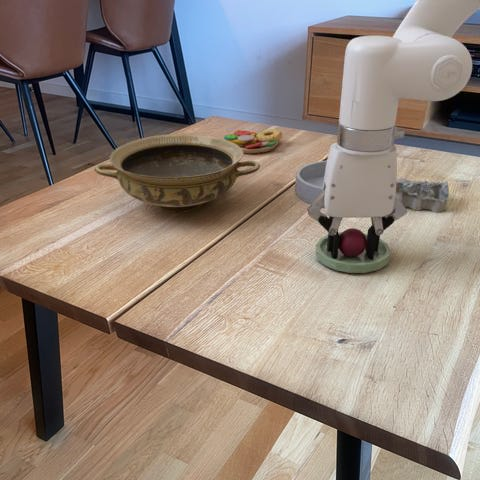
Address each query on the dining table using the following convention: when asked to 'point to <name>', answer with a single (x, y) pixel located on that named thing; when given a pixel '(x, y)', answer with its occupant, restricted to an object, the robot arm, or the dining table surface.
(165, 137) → the ceramic bowl
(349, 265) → the saucer
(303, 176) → the dish
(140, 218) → the dining table surface
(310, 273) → the dining table surface
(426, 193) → the egg carton
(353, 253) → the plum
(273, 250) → the dining table surface
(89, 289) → the dining table surface
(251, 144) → the toy food set
